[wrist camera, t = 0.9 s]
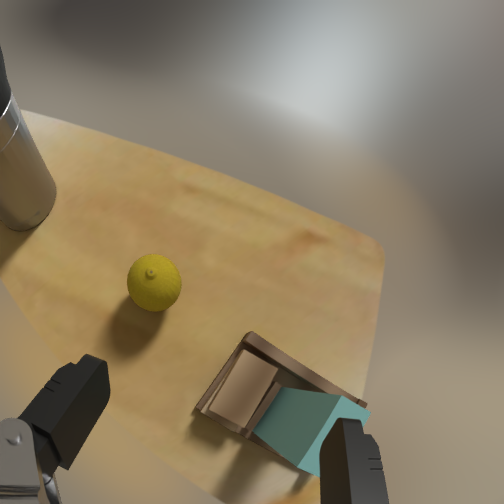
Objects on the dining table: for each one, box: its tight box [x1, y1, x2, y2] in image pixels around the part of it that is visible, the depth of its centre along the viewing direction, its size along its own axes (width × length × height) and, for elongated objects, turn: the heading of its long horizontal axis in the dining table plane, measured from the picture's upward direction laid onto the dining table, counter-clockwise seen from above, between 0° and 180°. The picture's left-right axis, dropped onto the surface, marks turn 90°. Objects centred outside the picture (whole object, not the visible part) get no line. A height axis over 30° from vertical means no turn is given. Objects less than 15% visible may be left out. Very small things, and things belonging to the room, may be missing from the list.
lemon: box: [127, 254, 182, 312], centre depth 31 cm, size 6×6×8 cm
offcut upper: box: [208, 350, 278, 428], centre depth 30 cm, size 4×7×2 cm, turn 151°
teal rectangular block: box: [252, 387, 371, 477], centre depth 25 cm, size 3×6×14 cm, turn 147°
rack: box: [196, 331, 367, 459], centre depth 31 cm, size 16×10×4 cm, turn 57°
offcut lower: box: [200, 353, 240, 432], centre depth 31 cm, size 4×8×2 cm, turn 147°
